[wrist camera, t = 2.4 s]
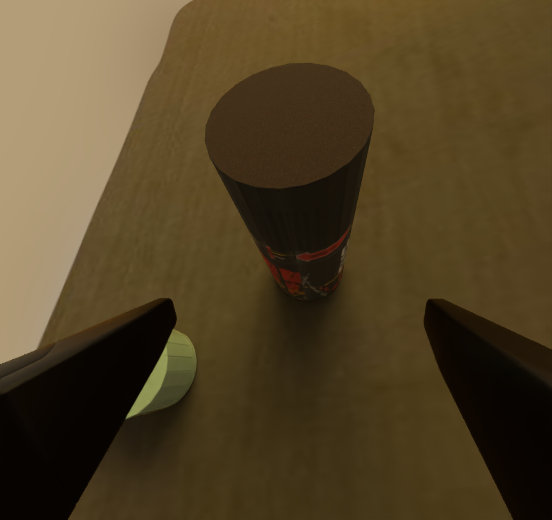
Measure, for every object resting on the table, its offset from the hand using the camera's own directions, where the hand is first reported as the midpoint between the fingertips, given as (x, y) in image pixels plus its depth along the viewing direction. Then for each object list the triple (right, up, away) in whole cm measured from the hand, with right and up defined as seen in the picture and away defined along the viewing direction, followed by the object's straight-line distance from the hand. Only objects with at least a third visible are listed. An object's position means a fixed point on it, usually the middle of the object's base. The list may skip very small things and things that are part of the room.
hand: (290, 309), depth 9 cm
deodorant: (+2, +1, +14) cm, 14 cm away
